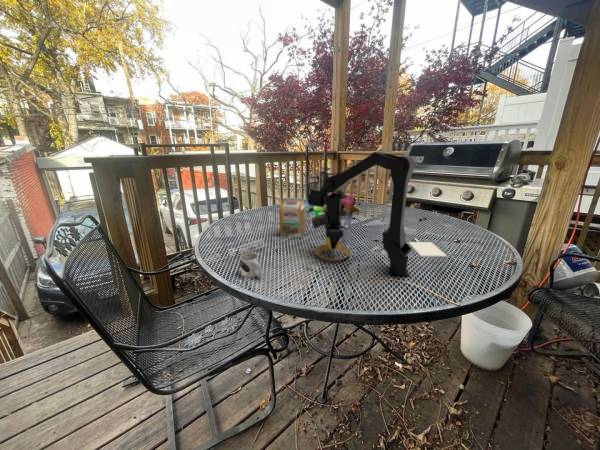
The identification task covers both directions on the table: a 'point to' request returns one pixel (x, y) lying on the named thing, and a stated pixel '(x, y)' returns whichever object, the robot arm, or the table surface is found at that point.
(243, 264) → the mug
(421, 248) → the placemat
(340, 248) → the plant saucer
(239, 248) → the table surface
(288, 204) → the plastic snack jar
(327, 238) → the lemon
